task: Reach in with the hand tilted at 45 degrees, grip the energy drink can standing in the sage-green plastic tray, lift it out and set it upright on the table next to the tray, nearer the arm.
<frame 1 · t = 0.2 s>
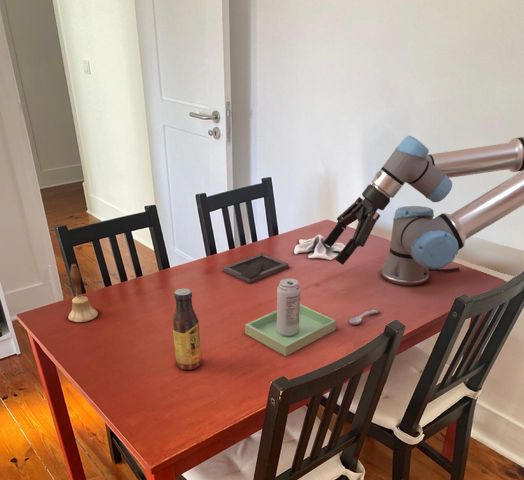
hand: (332, 253, 153), 15 cm above the table, tool tilted 35°, fingers open, 13 cm apart
tray: (290, 331, 146), on the table
cloth: (317, 249, 197), on the table
picture frame: (256, 270, 181), on the table
spoon: (363, 319, 152), on the table
energy drink can: (287, 333, 145), resting on tray
hand bell: (83, 316, 154), on the table
sauce bottle: (189, 364, 132), on the table
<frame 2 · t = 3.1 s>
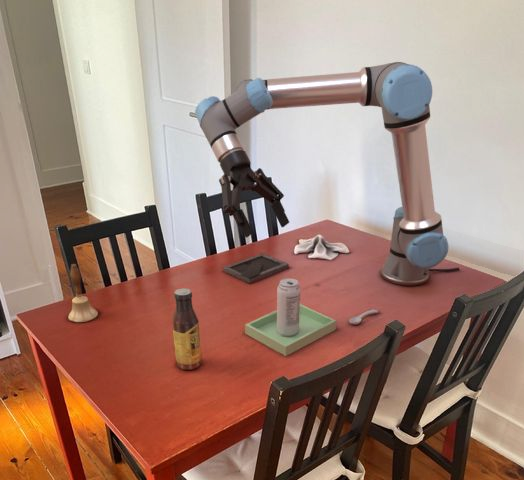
hand: (268, 230, 137), 27 cm above the table, tool tilted 40°, fingers open, 13 cm apart
nothing on the table moved.
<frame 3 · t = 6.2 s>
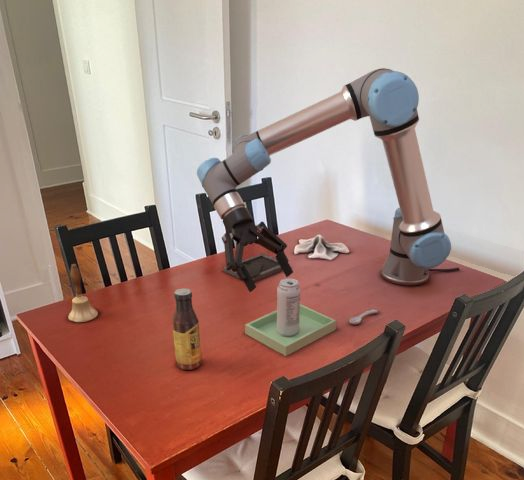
hand: (272, 282, 141), 13 cm above the table, tool tilted 45°, fingers open, 13 cm apart
nothing on the table moved.
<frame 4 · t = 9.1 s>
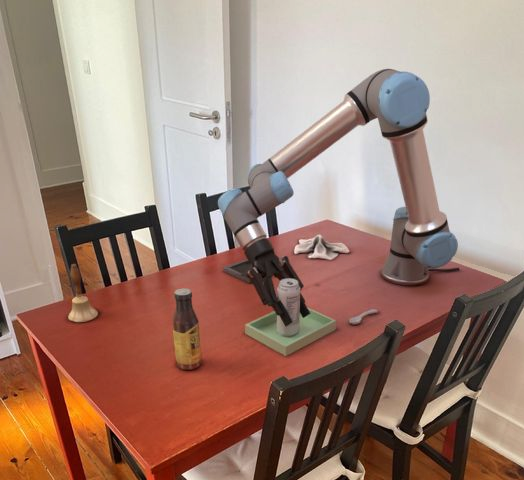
hand: (298, 319, 139), 6 cm above the table, tool tilted 45°, fingers closed on energy drink can, 6 cm apart
energy drink can: (287, 333, 145), resting on tray, touching gripper
everything else where it was.
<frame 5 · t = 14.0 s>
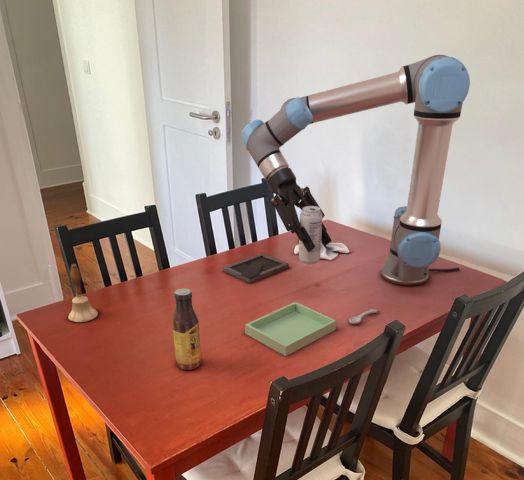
hand: (320, 246, 144), 20 cm above the table, tool tilted 45°, fingers closed on energy drink can, 6 cm apart
energy drink can: (309, 261, 150), point 15 cm above the table, touching gripper
everything else where it was.
when the fingers open (5 cm above the table, at t = 19.1 s): energy drink can stays where it is, on the table.
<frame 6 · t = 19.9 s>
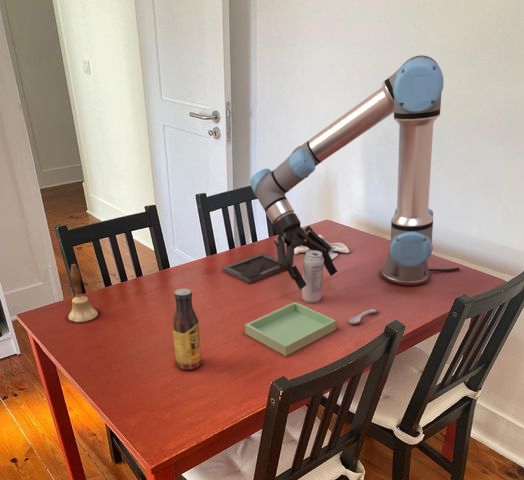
hand: (319, 280, 157), 7 cm above the table, tool tilted 45°, fingers open, 13 cm apart
energy drink can: (311, 300, 162), on the table
everything else where it was.
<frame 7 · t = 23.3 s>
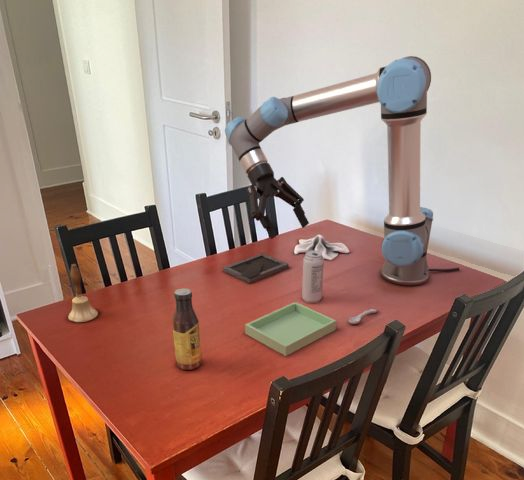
hand: (290, 231, 159), 19 cm above the table, tool tilted 40°, fingers open, 13 cm apart
nothing on the table moved.
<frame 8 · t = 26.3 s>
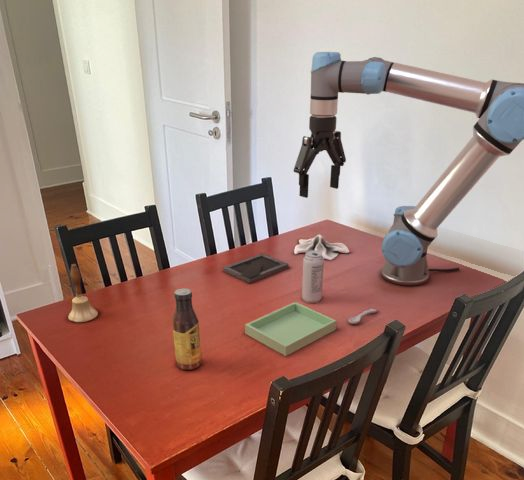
hand: (319, 192, 159), 29 cm above the table, tool pointing down, fingers open, 13 cm apart
nothing on the table moved.
at the end: energy drink can inside the target area (0.1 cm from its centre), on the table; energy drink can tilted 0°; energy drink can touching table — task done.
